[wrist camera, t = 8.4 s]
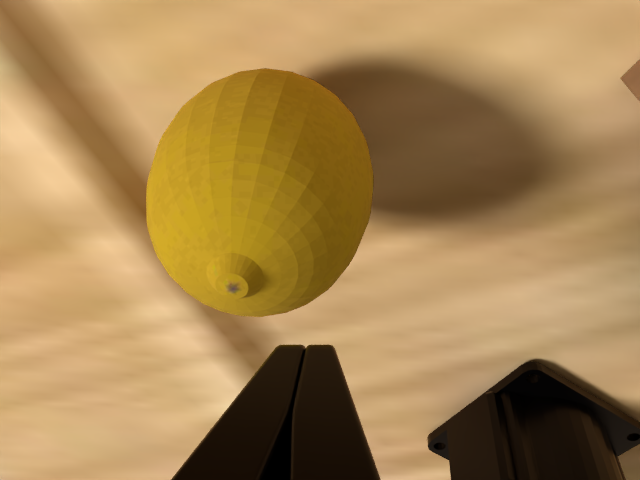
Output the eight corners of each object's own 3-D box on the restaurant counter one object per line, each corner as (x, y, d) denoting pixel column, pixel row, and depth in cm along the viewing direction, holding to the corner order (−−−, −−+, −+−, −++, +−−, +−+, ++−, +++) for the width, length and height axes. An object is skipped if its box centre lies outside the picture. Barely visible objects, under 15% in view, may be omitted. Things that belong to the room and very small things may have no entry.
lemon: (297, 226, 21) (256, 414, 14) (163, 123, 19) (47, 286, 13) (414, 117, 18) (428, 290, 12) (271, -14, 16) (195, 105, 10)
